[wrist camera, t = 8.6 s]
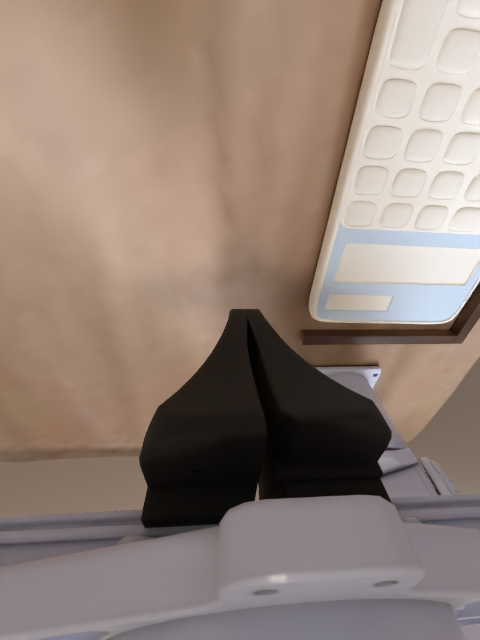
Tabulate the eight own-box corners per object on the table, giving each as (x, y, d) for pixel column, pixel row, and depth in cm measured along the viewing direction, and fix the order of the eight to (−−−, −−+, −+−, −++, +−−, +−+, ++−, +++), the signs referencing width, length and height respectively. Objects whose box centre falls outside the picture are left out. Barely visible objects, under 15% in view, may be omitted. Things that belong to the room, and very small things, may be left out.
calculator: (639, -12, 13) (696, -33, 11) (440, 316, 24) (455, 328, 23) (389, -46, 12) (414, -74, 10) (303, 313, 23) (309, 325, 22)
